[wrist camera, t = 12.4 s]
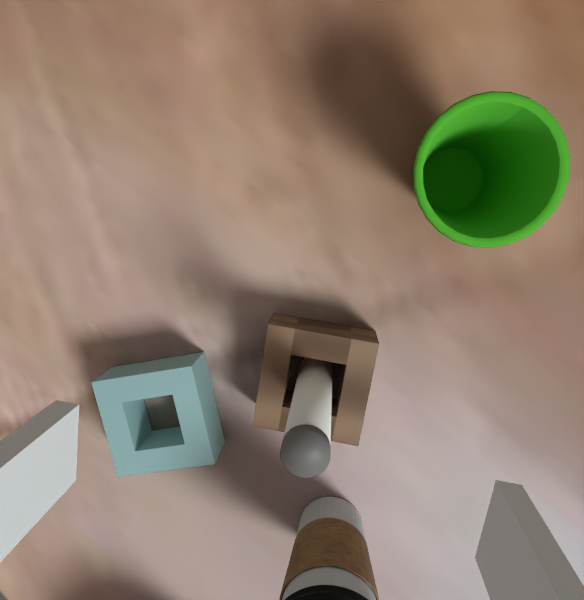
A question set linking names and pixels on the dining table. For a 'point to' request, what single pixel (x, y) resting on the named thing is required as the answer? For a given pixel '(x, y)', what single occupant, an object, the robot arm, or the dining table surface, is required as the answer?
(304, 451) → the pale grey rod
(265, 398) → the brown square wooden ring
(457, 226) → the cup
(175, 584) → the dining table surface
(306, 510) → the coffee cup
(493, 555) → the robot arm
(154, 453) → the teal square ring
